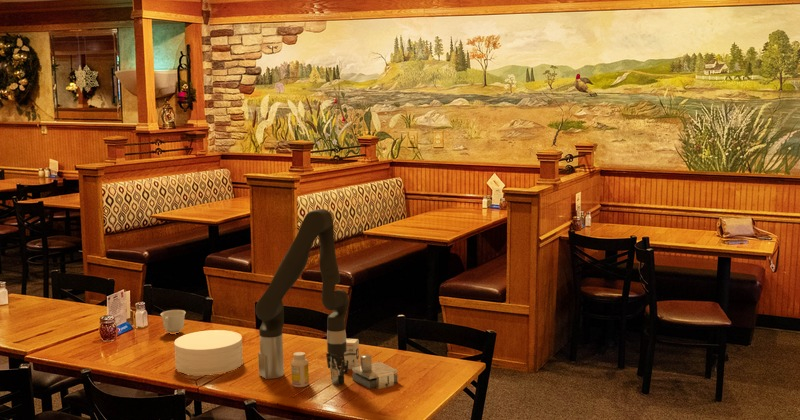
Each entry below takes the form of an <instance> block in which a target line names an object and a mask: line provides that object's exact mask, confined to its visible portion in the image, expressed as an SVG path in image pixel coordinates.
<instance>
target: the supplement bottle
mask: <svg viewBox="0 0 800 420" xmlns="http://www.w3.org/2000/svg"><path fill="white" fill-rule="evenodd" d="M292 356H293V359H292V360H291V361H290V368H291V369H290V371H291V385H292V386H293V387H295V388H304V387H307V386H308V385H309V383H310V379H309V378H310V377H309V375H310V374H309V360H308V359H307V358H306V353H305V352H304V351H303V352H302V351H296V352H294V353H293V354H292Z"/></svg>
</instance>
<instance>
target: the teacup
mask: <svg viewBox="0 0 800 420" xmlns="http://www.w3.org/2000/svg"><path fill="white" fill-rule="evenodd" d="M186 313H187V312H186V311H185V310H183V309H170V310H165V311H162V312H161V313H160V316H161V318H162V324H163V328H164V330H165V331H166V332H171V333H175V332H179V331H180V332H181V330H183V328H184V326H185V325H184V324H185V315H186Z"/></svg>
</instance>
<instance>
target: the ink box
mask: <svg viewBox="0 0 800 420" xmlns="http://www.w3.org/2000/svg"><path fill="white" fill-rule="evenodd" d="M359 342H360V341H359V339H358V338H346V352H345V353H344V359H345V360H348V370H352V368H354V367H358V366H360V347H359V346H360V345H359V344H360V343H359ZM338 367H341V366H338Z"/></svg>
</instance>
